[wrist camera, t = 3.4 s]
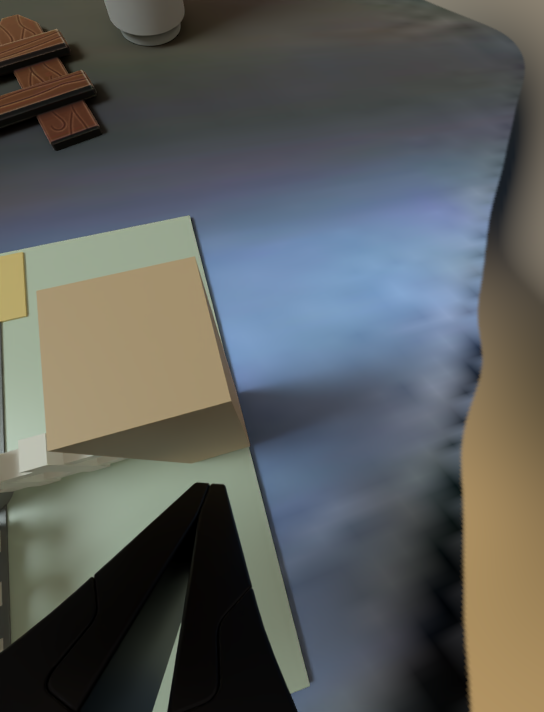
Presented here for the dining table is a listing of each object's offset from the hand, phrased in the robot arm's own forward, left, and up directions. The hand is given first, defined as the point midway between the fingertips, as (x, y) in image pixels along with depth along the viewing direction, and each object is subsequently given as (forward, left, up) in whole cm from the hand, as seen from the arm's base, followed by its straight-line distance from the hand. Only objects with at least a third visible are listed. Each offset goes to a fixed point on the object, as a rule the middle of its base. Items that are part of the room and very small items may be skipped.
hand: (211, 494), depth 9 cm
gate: (+2, +5, -7) cm, 9 cm away
